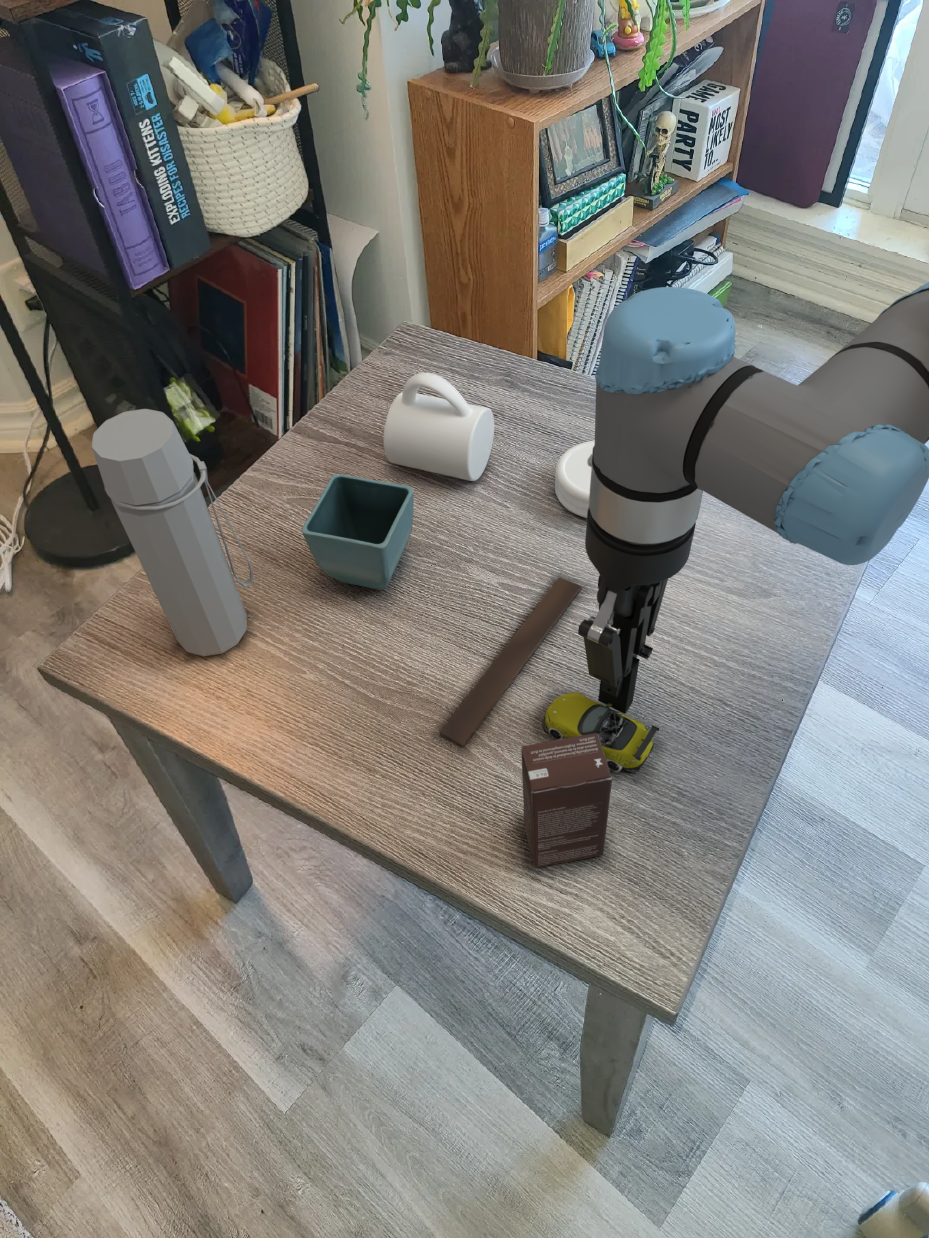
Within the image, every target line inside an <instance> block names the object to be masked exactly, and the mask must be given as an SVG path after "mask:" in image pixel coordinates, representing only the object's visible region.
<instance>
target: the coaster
mask: <svg viewBox="0 0 929 1238" xmlns="http://www.w3.org/2000/svg"><path fill="white" fill-rule="evenodd" d="M594 445H595V440H588V441H585V442H581V443H578V444H576V445H573V446H571V447H569V448H568V449H567V450H565V451H564V453H562V454H561V455H560V457H559V459H557V460H558V461H557V462H556V465H555V476H554V481H555V482H554V492H555V494H556V497H557V499H558V501H559V502H560V504H561V505H562V506H563V508H565V509H567V510H568V511H569V512H571V513H572V514H575V515H577V516H580V517H583V518H584V519H585V518H586V519H587V512H588V508H589V494H590V481H591V468H592V467H590V466H589V465H588V458H589V457H590V455H591V454H592V453H593V447H594Z"/></svg>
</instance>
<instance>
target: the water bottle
mask: <svg viewBox="0 0 929 1238" xmlns="http://www.w3.org/2000/svg"><path fill="white" fill-rule="evenodd" d="M91 450H92V452H93V455H94V458H95V461H96V465H97V468H98V470H99V474H100V477H101V480H102V483H103V487H104V491H105V492H106V495H107V496H108V497H109V498H110V501H111V503H112V505H113V508H114V511H115V512H116V514H117V516H118V518H119V520H120V522H121V525H122V526H123V528H124V531H125V533H126V535H127V537H128V539H129V541H130V543H131V546H132V548H133V550H134V552H135V554H136V556H137V558H138V560H139V563H140V565H141V567H142V569H143V571H144V573H145V575H146V577H147V580H148V582H149V584H150V586H151V588H152V590H153V592H154V594H155V597H156V599H157V601H158V603H159V605H160V607H161V609H162V612H163V613H164V615H165V618H166V620H167V623H168V624H169V626H170V628H171V630H172V632H173V635H174V636H175V639H176V641H177V642H178V643H179V645H180V646H181V647H182V648H183V649H184V650H185V652H187V653H190V654H194V655H197V656H201V657H208V656H215V655H222V654H224V653H226V652H227V651H229V650H231V649H232V648H235V647H236V646H237V645H238V644H239V642H240V641H241V640H242V638H243V636H244V634H245V633H246V632H247V630H248V614H247V612H246V609H245V606H244V603H243V601H242V598H241V595H240V592H239V589H238V587H237V585H236V582H237V583H238V584H239V585H240V586H241V587H244V588H247V587H250V586H252V585H254V572H253V567H252V564H251V561H250V559H249V557H248V554H247V553H246V551H245V550H244V548H243V545H242V544H241V542H240V540H239V538H238V536H237V534H236V532H235V530H234V529H233V526H232V525H231V523H230V521H229V519H228V517H227V515H226V513H225V512H224V510H223V508H222V505H221V504H220V502H219V499H218V498H217V496H216V494H215V493H214V491H213V489H212V487H211V484H210V483H209V479H208V468H207V466H206V463H205V461H204V460H203V461H201V460H200V459H199V457H197V456H196V455H193V454H191V453H189V451H188V448H187V447H186V445H185V442H184V441H183V439H182V436H181V434H180V433H179V431H178V429H177V426H176V424H175V423H174V421H173V420H172V419H171V418H170V417H169V416H168V415H167V414H165V413H164V412H163V411H159V410H154V409H149V408H141V409H134V410H128V411H123V412H121V413H119V414H117V415H115V416H113V417H111V418H108V419H106V420H105V421H103V423H102V424H101V425H100V426H99V427H98V428H97V429H96V430H95V431H94V432H93V434H92V441H91ZM194 462H195V464H196V465H197V468H198V471H199V475H200V478H199V480H198V477H197V474H196V472H194V467H195V466H194ZM203 484H205V488H206V492H207V493H208V497H209V500H210V504H211V507H212V511H213V513H214V517H215V520H216V524H217V526H218V530H219V534H220V536H221V540H222V542H223V546H224V549H225V550H224V549H223V546H222V543H221V541H220V538H219V534H218V532H217V530H216V526H215V525H214V521H213V518H212V516H211V513H210V510H209V507H208V505H207V502H206V499H205V497H204V493H203V491H202V489H201V487H202V485H203ZM209 489H210V490H209ZM211 493H212V495H213V497H214V500H215V502H216V503H217V505H218V507H219V509H220V511H221V513H222V515H223V517H224V519H225V522H226V523H227V524H228V526H229V528H230V531H231V532H232V534H233V537H234V538H235V540H236V542H237V544H238V546H239V548H240V549H241V552H242V553H243V555H244V558H245V560H246V562H247V566H248V570H249V579H247V580H245V581H244V580H242V579H240V577H238V576H237V573H236V570H235V566H234V564H233V561H232V557H231V554H230V552H229V547H228V545H227V542H226V539H225V536H224V533H223V529H222V526H221V523H220V520H219V517H218V514H217V511H216V509H215V505H214V502H213V499H212V495H211ZM224 551H225V552H224ZM225 553H226V554H225ZM226 556H227V557H226ZM227 559H228V560H227ZM234 578H235V579H234ZM235 580H236V582H235Z"/></svg>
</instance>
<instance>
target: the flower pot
mask: <svg viewBox="0 0 929 1238" xmlns="http://www.w3.org/2000/svg"><path fill="white" fill-rule="evenodd" d="M414 493H415V489H414V487H412V486H409V485H406V484H400V483H395V482H394V483H393V482H386V481H380V480H374V479H369V478H365V477H364V478H363V477H360V476H354V475H349V474H342V473H334V474H332V476H331V477H330V478H329V481H328V482H327V484H326V486H325V487H324V490H323V491H322V493H321V495H320V497H319V498H318V500H317V502H316V504H315V506H314V507H313V509H312V510H311V512H310V514H309V516H308V518H307V519H306V521H305V522H304V524H303V525H302V527H301V534H302V536H303V538H304V540H305V543H306V544H307V547H308V548H309V551H310V553H311V555H312V556H313V558H314V561H315V562H316V564H317V565H318V567H320V569H321V570H322V571H323V572H324V573H325V574H327V575H328V576H330V577H331V578H333V579H335V580H337V581H338V582H340V583H343V584H347V585H348V584H349V585H355V586H359V587H364V588H368V589H372V590H373V589H374V590H379V591H382V590H385V589H386V588H387V587H388V585H389V583H390V581H391V579H392V577H393V575H394V572H395V570H396V569H397V567H398V564H399V562H400V559H402V558H401V557H402V555H403V553H404V551H405V549H406V547H407V545H408V543H409V540H410V537H411V533H412V530H413V529H412V528H413V524H414V523H413V522H414V500H415V499H414V497H415V496H414Z"/></svg>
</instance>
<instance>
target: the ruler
mask: <svg viewBox="0 0 929 1238" xmlns="http://www.w3.org/2000/svg"><path fill="white" fill-rule="evenodd" d="M582 587H583V586H582V585H579V584H577V583H575V582H573V581H570V580H569V579H565V578H563V577H561V576H558V578H557V579H556V580H555V582H554V583H553V584H552V585H551V587H550V588H549V590H548V591H547V592H546V593H545V595H544V596H543V598H542V599H541V600H540V601H539V602H538V604H537V605H536V606H535V608H534V609H533V610H532V611H531V613H530V614H529V615H528V617H527V618H526V619H525V621H524V622H523V623H522V625H521V626H520V627H519V629H518V630H517V631H516V632H515V634H514V635H513V636H512V637H511V639H510V640H509V642H508V643H506V645H505V646H504V648H503V649H502V651H500V653H499V654H498V656H497V657H496V658H495V659H494V661H493V662H492V663H491V664H490V666H489V667H488V668H487V670H486V671H485V672H484V673H483V675H482V676H481V678H480V679H479V680H478V681H477V682H476V684H475V685H474V686H473V688H472V689H471V690H470V692H469V693H468V694H467V696H466V697H465V698H464V699H463V700H462V702H461V703H460V705H459V706H458V707H457V708H456V710H455V711H454V712H453V714H452V715H451V716H450V718H448V719H447V721H446V723H445V724H444V725H443V726H442V728H441V729H440V730H439V732H438V735H439V736H440V737H443V739H444V738H445V739H447V740H448V741H450V742H452V743H454V744H455V745H458V746H460V747H461V748H465V747H466V745H467V744H468V742H469V741H470V740H471V739H472V737H473V736H474V734H475V733H476V731H477V730H478V729H479V727H480V726H481V725H482V724H483V722H484V721H485V719H486V718H487V717H488V715H489V714H491V711H492V710H493V709H494V707H495V706H496V705H497V704H498V702H499V701H500V700H501V698H502V697H503V695H504V694H505V693H506V691H507V690H508V688H509V687H510V686H511V685H512V683H513V682H514V680H515V679H516V678H517V677H518V676H519V674H520V672H522V671H523V668H524V667H525V666H526V664H527V663H528V662H529V661H530V659H531V658H532V657H533V655H534V654H535V652H537V650H538V649H539V648H540V646H541V644H542V643H543V642H544V640H545V639H546V638H547V636H548V635H549V634H550V632H551V631H552V629H553V628H554V627H555V626H556V624H557V622H559V620H560V619H561V617H562V616H563V615H564V614H565V612H566V611H567V609H568V608H569V607H570V606H571V604H572V603H573V601H574V600H575V599H576V598H577V596H578V595H579V593H580V592H581V591H582Z"/></svg>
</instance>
